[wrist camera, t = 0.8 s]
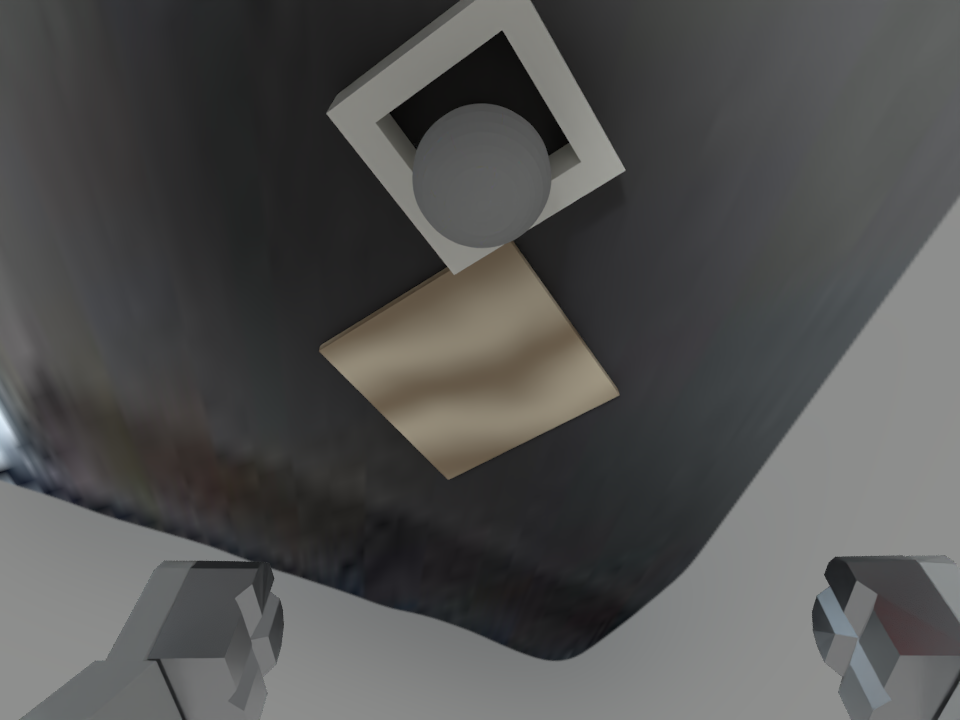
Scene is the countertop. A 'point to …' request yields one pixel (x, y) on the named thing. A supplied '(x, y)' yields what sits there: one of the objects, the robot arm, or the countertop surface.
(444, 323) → the board
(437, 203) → the light bulb
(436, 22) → the socket
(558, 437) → the countertop surface
